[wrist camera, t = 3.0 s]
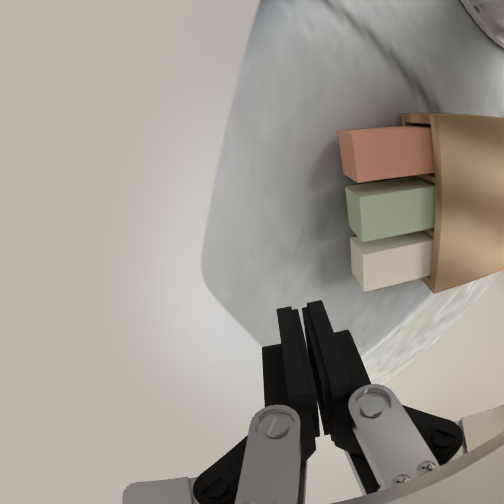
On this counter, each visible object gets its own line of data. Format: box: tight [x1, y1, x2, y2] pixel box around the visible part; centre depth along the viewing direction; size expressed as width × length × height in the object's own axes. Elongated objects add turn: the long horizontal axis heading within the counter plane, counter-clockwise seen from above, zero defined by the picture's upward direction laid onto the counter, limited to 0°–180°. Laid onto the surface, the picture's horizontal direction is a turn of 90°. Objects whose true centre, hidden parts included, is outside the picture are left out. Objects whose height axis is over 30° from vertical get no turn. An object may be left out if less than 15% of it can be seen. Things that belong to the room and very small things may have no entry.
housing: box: [401, 113, 504, 293], centre depth 18 cm, size 14×12×5 cm
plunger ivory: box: [350, 230, 434, 292], centre depth 21 cm, size 3×9×3 cm, turn 102°
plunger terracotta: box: [337, 125, 435, 183], centre depth 17 cm, size 3×9×3 cm, turn 102°
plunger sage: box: [345, 177, 435, 242], centre depth 19 cm, size 3×9×3 cm, turn 102°
